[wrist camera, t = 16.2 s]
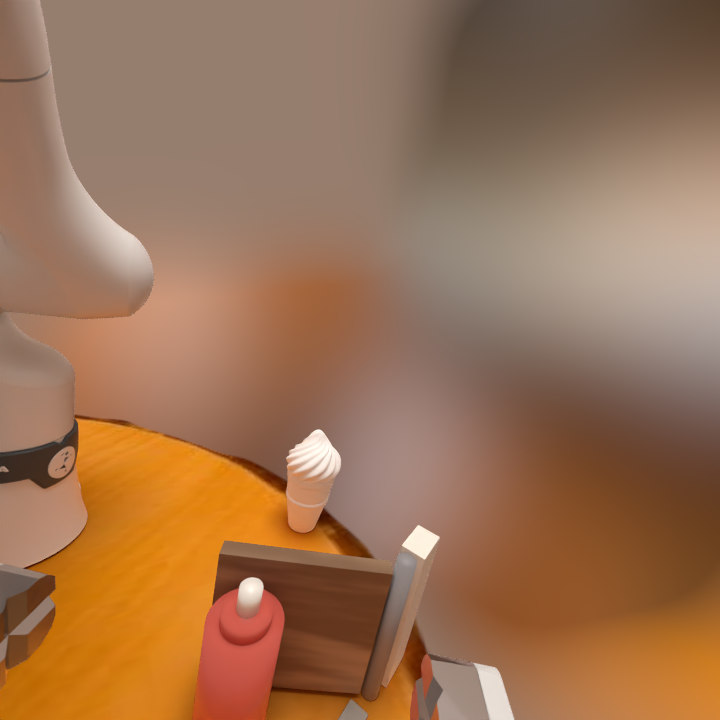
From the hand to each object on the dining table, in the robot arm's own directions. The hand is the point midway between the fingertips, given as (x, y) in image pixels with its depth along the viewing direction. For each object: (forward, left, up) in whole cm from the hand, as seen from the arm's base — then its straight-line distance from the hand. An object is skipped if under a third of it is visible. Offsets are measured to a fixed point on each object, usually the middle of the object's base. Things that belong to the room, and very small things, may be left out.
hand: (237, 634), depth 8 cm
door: (+1, +21, -31) cm, 38 cm away
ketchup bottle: (-3, +16, -32) cm, 36 cm away
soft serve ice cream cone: (-2, +43, -32) cm, 54 cm away
